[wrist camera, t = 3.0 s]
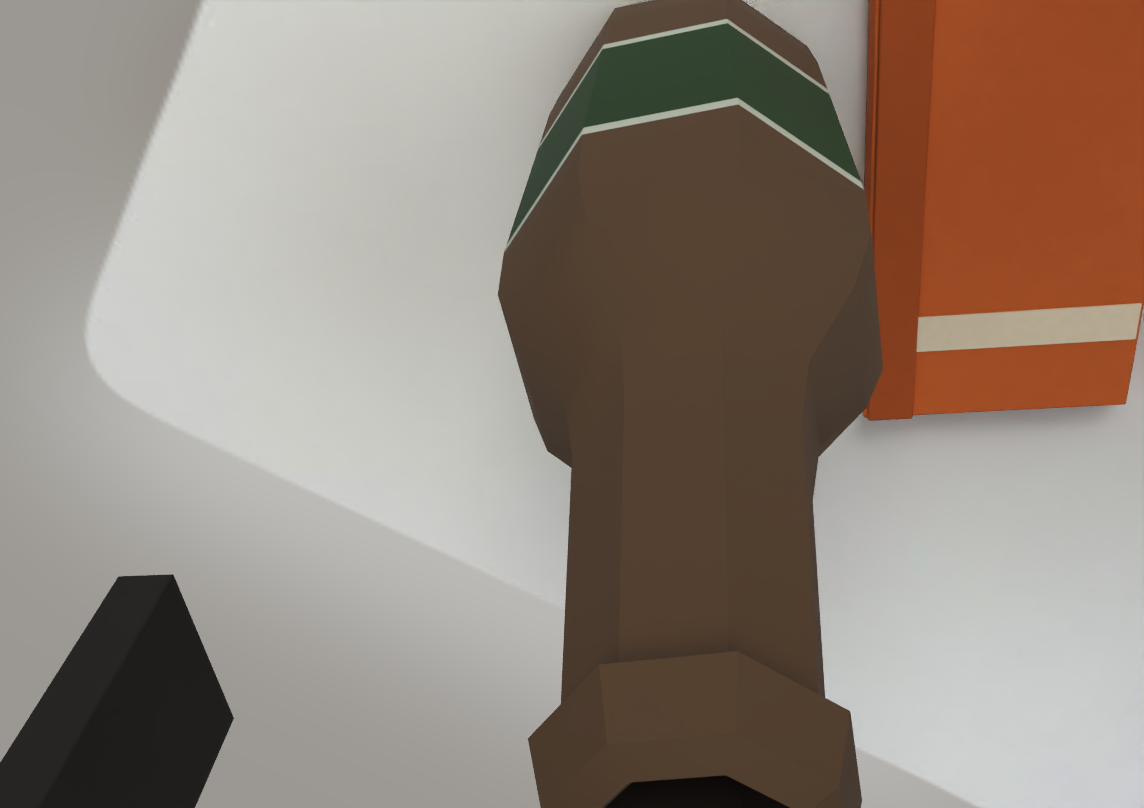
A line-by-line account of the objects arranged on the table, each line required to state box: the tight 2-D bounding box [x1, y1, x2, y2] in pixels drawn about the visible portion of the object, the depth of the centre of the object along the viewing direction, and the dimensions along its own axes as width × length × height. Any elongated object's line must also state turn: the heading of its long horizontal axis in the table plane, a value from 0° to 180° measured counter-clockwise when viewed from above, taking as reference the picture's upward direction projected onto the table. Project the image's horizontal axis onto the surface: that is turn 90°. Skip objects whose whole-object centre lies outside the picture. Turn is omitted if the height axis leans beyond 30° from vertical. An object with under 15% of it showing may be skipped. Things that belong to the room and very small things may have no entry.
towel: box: [863, 0, 1144, 421], centre depth 30 cm, size 20×8×1 cm, turn 7°
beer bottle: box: [498, 0, 883, 808], centre depth 21 cm, size 8×8×24 cm
